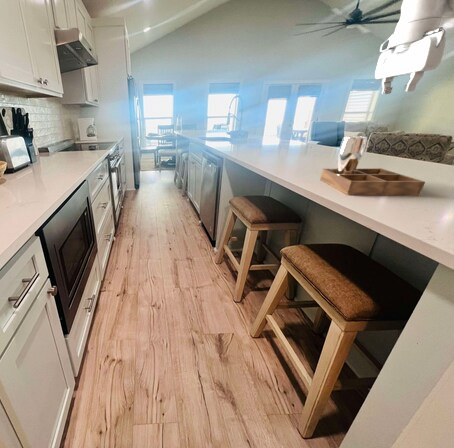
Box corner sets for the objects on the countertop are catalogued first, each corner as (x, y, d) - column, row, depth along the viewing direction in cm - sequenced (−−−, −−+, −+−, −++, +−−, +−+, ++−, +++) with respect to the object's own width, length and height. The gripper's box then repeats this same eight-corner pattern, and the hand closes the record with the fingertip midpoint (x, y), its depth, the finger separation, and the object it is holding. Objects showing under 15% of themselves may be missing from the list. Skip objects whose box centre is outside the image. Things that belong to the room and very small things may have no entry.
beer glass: (337, 182, 85) (349, 138, 79) (327, 178, 91) (338, 136, 85) (359, 183, 84) (373, 137, 77) (348, 178, 90) (360, 135, 84)
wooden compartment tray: (377, 179, 90) (381, 168, 88) (419, 195, 72) (425, 181, 71) (320, 179, 93) (322, 168, 91) (347, 194, 76) (351, 181, 74)
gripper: (463, 22, 57) (439, 88, 63) (400, 44, 75) (386, 94, 81) (431, 26, 58) (410, 91, 64) (377, 47, 76) (364, 96, 82)
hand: (396, 92), depth 73 cm, fingers open, 8 cm apart
